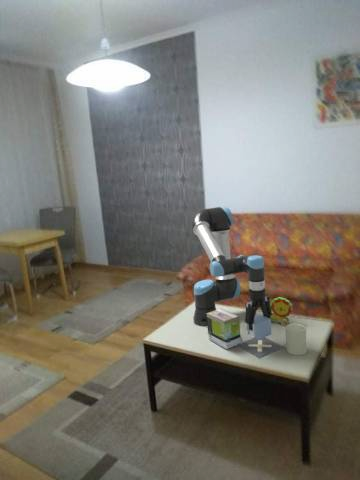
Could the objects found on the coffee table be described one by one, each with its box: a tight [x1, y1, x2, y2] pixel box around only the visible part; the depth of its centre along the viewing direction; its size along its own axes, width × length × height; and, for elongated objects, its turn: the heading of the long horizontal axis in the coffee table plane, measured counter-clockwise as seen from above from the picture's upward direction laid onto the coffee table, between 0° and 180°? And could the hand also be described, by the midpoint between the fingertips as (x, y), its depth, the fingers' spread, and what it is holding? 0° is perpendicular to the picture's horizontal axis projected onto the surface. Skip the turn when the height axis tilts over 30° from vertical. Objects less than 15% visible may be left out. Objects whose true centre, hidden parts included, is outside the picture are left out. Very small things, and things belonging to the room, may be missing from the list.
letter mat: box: [236, 337, 285, 359], centre depth 176 cm, size 16×16×1 cm
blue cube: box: [246, 313, 273, 340], centre depth 174 cm, size 8×8×8 cm
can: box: [285, 322, 308, 356], centre depth 168 cm, size 9×9×12 cm
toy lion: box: [262, 296, 293, 327], centre depth 197 cm, size 16×5×15 cm, turn 63°
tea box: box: [206, 308, 242, 350], centre depth 183 cm, size 15×10×15 cm, turn 32°
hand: (259, 333), depth 175 cm, fingers closed on blue cube, 8 cm apart
